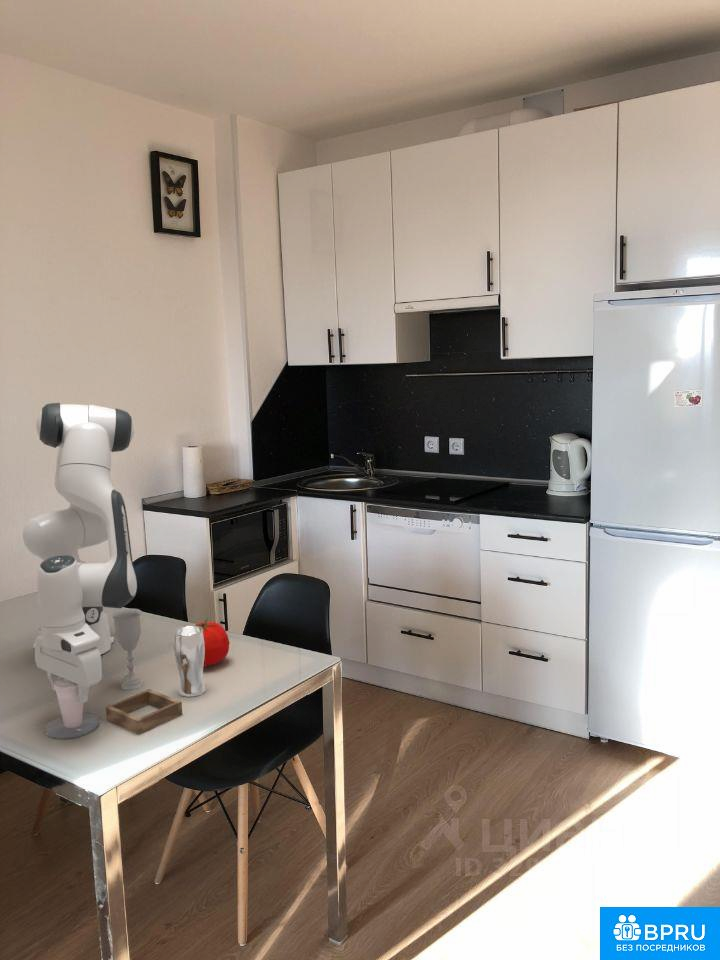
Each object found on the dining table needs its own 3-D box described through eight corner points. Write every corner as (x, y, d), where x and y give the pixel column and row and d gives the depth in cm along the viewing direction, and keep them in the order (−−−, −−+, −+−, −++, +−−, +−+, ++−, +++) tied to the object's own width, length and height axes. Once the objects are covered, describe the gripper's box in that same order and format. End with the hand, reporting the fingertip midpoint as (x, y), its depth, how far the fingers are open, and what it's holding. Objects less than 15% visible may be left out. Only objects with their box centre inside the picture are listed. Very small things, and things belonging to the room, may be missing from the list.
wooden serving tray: (106, 720, 180) (105, 707, 179) (150, 701, 188) (149, 689, 188) (139, 734, 172) (137, 721, 172) (182, 714, 181) (181, 701, 181)
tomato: (222, 652, 217) (219, 612, 215) (236, 667, 207) (234, 624, 205) (177, 661, 212) (174, 620, 210) (190, 677, 201) (187, 633, 200)
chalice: (152, 684, 198) (147, 612, 195) (127, 693, 193) (121, 620, 190) (136, 676, 203) (131, 606, 200) (111, 685, 198) (105, 613, 195)
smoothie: (64, 717, 180) (59, 656, 178) (93, 717, 180) (88, 656, 177) (52, 731, 174) (46, 668, 171) (82, 731, 173) (76, 668, 171)
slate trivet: (35, 729, 176) (35, 727, 176) (81, 711, 184) (80, 708, 184) (63, 744, 169) (63, 741, 169) (109, 724, 178) (109, 721, 177)
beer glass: (175, 688, 195) (171, 628, 193) (204, 683, 197) (200, 623, 195) (179, 700, 189) (175, 637, 186) (210, 694, 191) (206, 632, 189)
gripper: (24, 628, 177) (30, 689, 180) (77, 648, 165) (83, 713, 167) (51, 620, 182) (56, 679, 184) (105, 639, 169) (110, 702, 172)
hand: (70, 695), depth 176 cm, fingers open, 8 cm apart
